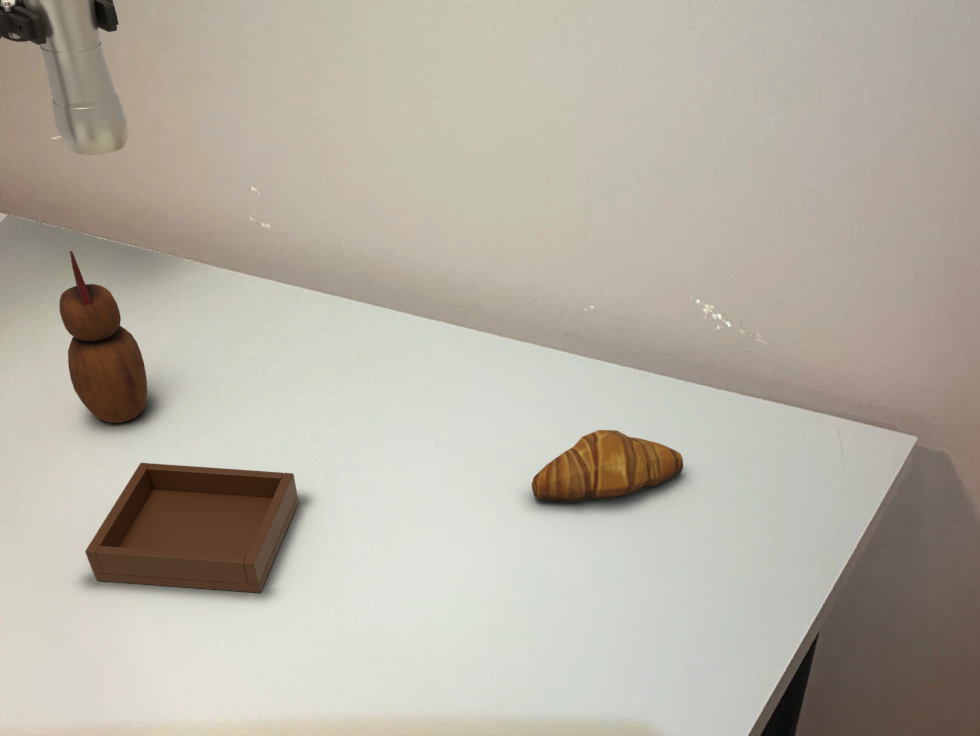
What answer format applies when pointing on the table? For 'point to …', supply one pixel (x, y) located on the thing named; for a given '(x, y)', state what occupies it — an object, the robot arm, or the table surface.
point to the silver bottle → (80, 77)
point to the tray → (195, 528)
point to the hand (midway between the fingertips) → (76, 24)
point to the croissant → (606, 468)
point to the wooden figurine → (102, 353)
